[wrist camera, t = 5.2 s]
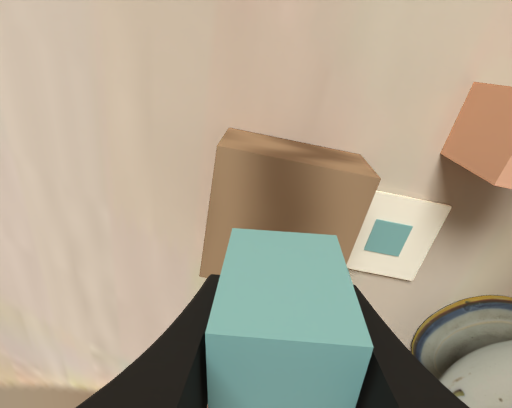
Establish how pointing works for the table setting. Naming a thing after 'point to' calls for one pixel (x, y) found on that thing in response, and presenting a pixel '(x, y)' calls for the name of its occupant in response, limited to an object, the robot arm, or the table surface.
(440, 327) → the apothecary jar
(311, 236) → the teal block
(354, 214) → the walnut block
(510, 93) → the terracotta block
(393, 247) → the card
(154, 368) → the robot arm
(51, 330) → the table surface
